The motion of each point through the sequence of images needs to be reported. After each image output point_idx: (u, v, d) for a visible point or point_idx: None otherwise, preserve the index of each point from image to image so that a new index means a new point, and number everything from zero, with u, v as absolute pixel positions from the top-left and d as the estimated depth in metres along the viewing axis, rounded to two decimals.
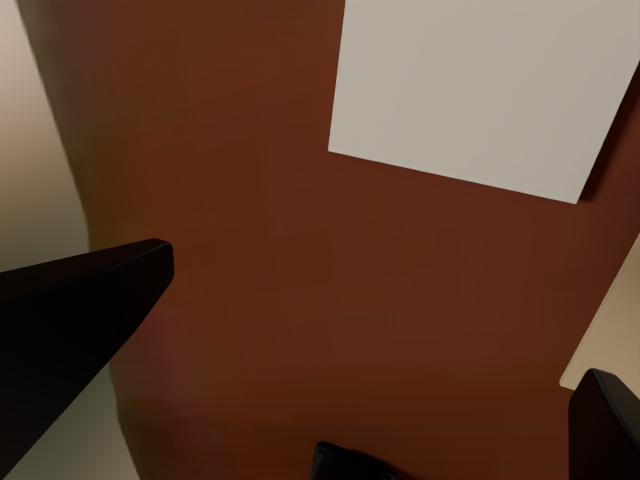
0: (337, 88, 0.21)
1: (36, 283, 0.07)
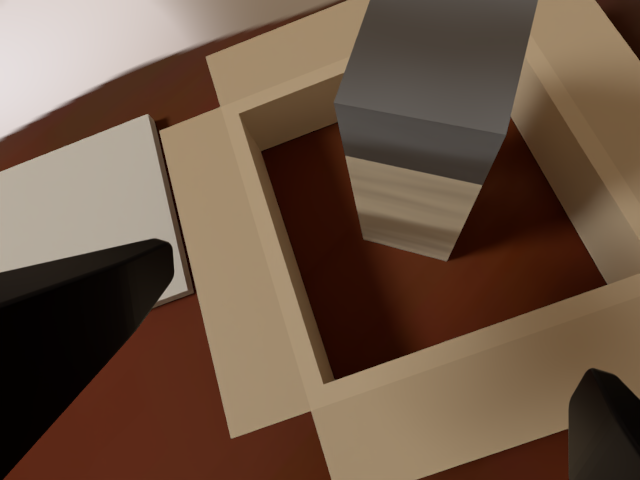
0: None
1: (36, 283, 0.07)
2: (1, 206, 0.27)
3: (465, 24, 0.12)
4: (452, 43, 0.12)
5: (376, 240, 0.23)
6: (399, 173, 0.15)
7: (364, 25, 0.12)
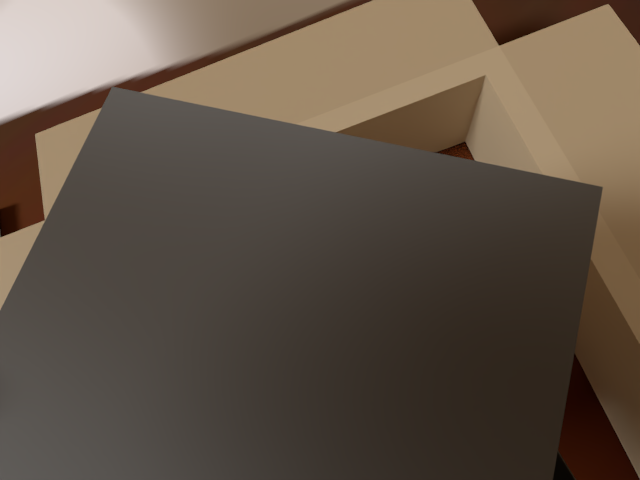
0: None
1: None
2: None
3: (337, 298, 0.03)
4: (287, 375, 0.03)
5: None
6: None
7: (33, 264, 0.04)
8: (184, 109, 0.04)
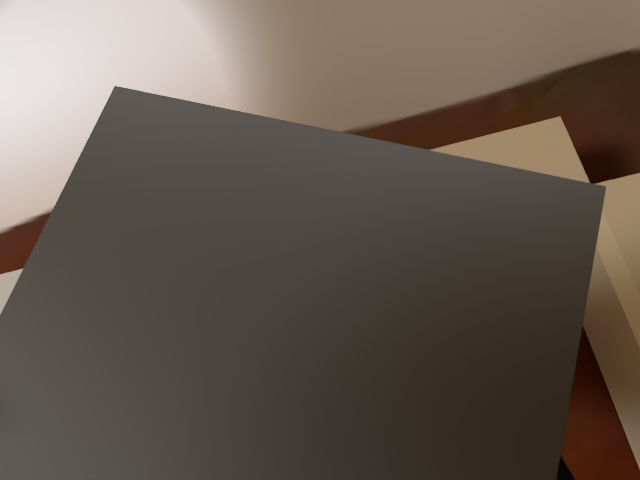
0: None
1: None
2: None
3: (340, 298, 0.03)
4: (290, 375, 0.03)
5: None
6: None
7: (35, 263, 0.04)
8: (187, 108, 0.04)
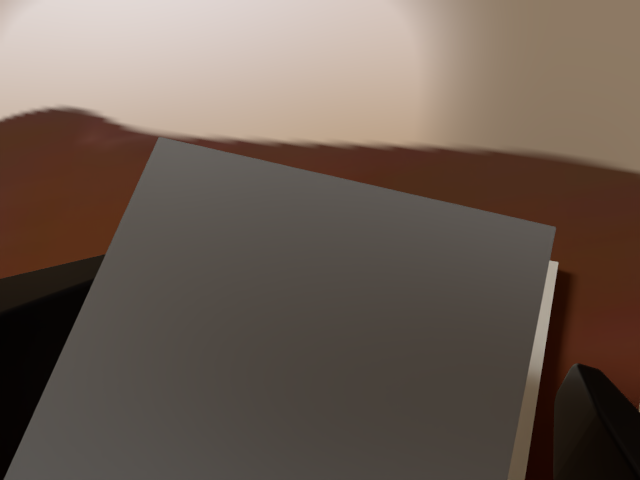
0: None
1: (48, 287, 0.07)
2: None
3: (348, 315, 0.04)
4: (309, 376, 0.04)
5: None
6: None
7: (99, 286, 0.05)
8: (220, 157, 0.05)
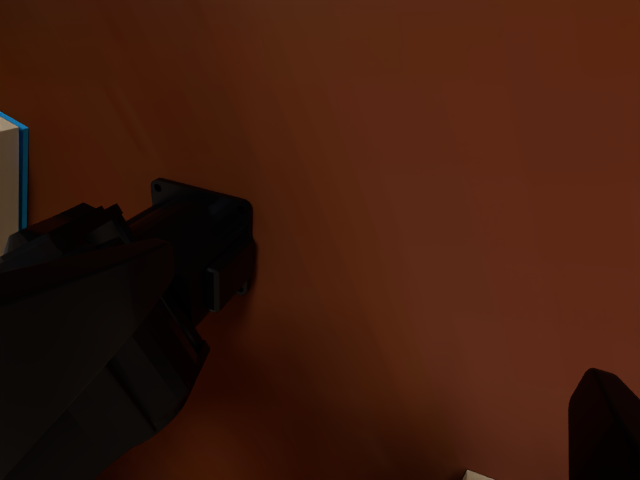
0: None
1: (36, 283, 0.07)
2: None
3: None
4: None
5: None
6: None
7: None
8: None
